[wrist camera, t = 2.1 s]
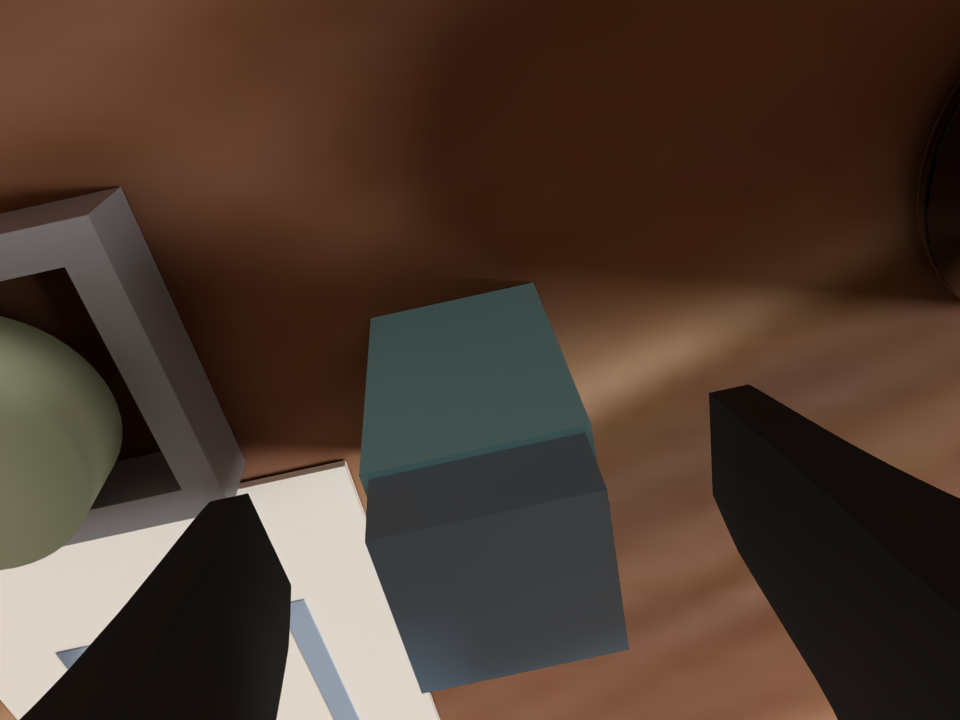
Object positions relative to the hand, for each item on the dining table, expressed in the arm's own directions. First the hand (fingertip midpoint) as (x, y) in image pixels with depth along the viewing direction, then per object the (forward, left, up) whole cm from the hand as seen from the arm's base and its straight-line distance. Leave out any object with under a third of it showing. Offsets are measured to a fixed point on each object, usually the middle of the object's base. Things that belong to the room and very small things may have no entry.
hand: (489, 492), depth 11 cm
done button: (+2, +8, -2) cm, 9 cm away
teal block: (0, 0, -4) cm, 4 cm away
